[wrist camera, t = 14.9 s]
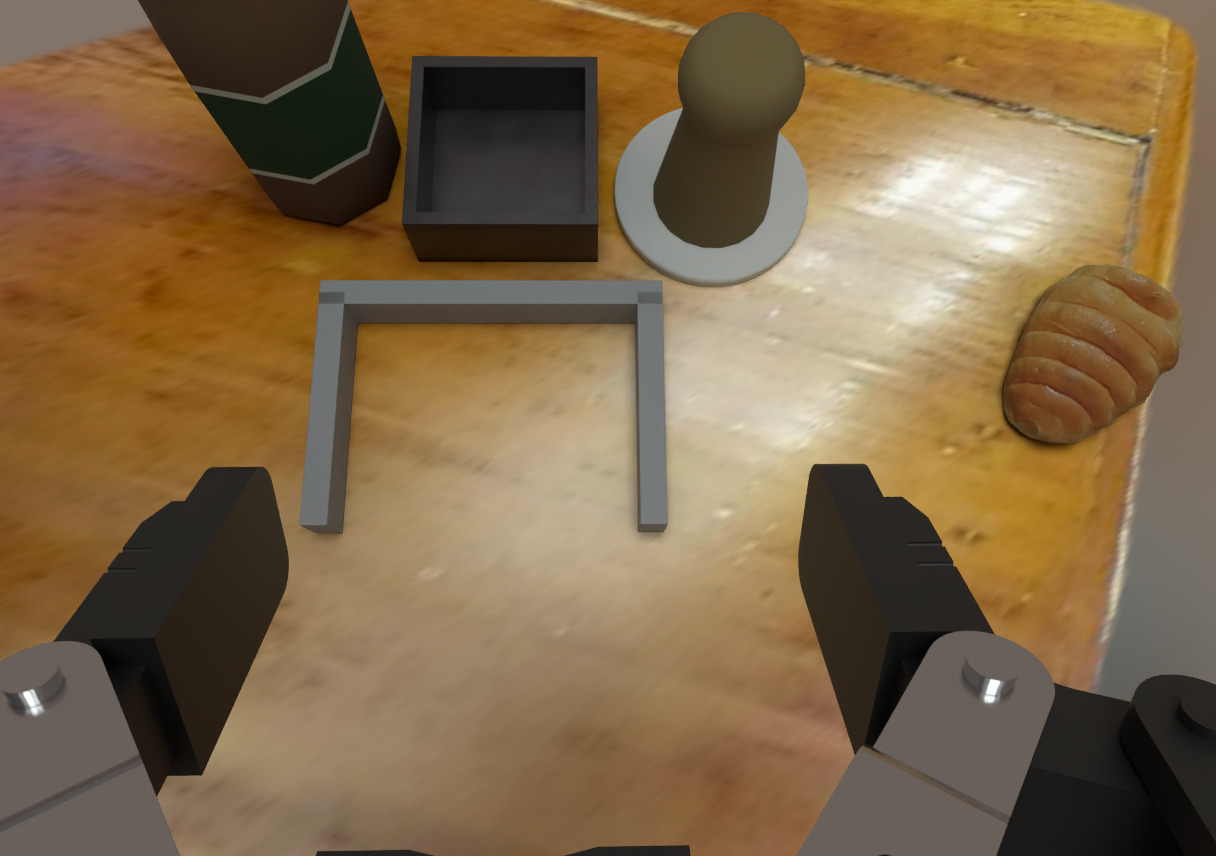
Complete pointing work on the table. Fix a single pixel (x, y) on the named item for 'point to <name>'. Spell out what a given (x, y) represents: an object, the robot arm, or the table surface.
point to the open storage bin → (502, 159)
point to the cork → (728, 129)
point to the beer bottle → (289, 97)
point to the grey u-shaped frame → (474, 304)
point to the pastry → (1091, 353)
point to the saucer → (690, 259)
